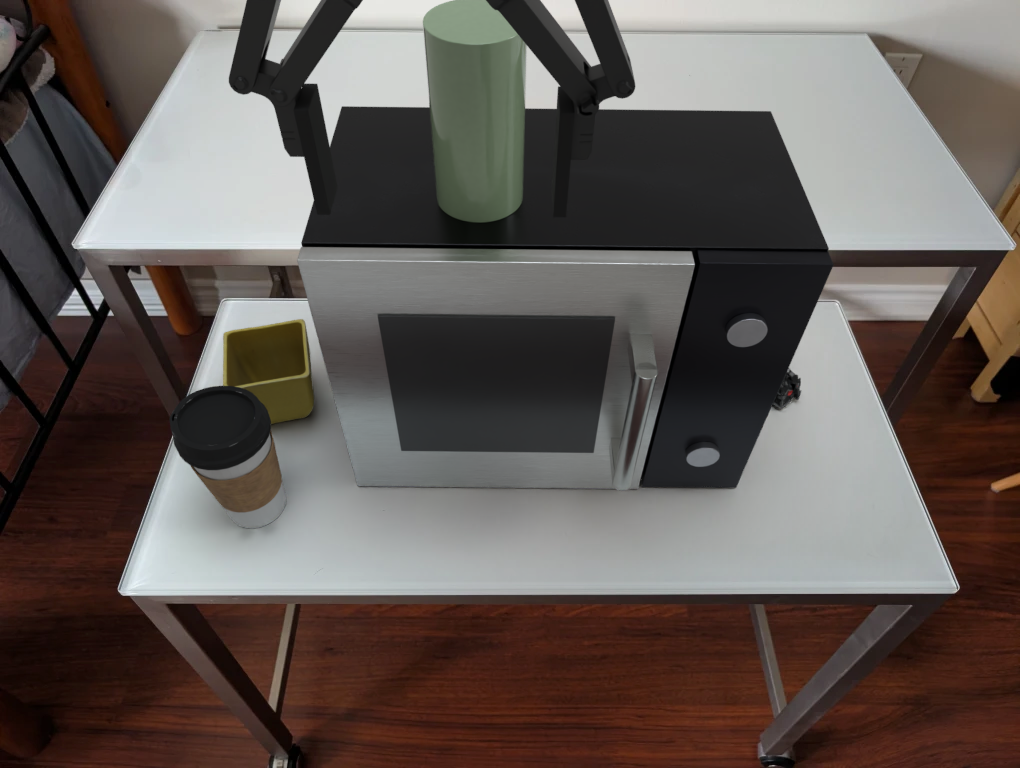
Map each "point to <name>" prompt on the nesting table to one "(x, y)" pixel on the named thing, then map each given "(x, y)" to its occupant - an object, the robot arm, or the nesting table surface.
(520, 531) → the nesting table surface
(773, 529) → the nesting table surface
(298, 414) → the flower pot
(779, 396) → the toy car
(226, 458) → the coffee cup
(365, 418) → the microwave door
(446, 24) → the canister
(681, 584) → the nesting table surface
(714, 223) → the microwave
